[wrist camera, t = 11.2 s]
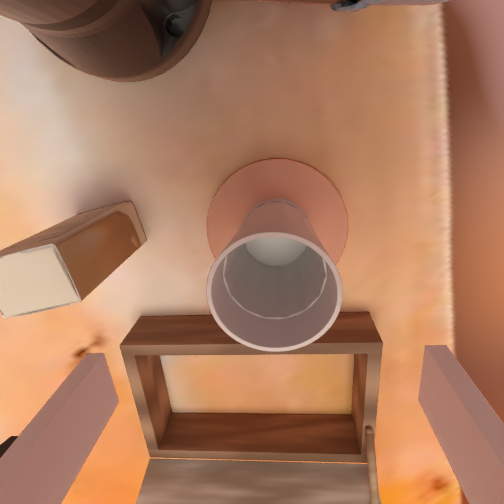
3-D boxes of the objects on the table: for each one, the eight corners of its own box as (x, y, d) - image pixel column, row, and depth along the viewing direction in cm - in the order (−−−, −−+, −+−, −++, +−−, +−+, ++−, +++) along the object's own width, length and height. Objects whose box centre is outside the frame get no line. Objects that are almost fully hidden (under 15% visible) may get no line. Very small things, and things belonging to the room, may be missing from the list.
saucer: (200, 163, 29) (198, 164, 29) (348, 153, 28) (350, 154, 27) (216, 291, 34) (215, 295, 33) (344, 288, 33) (345, 292, 32)
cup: (273, 169, 28) (269, 201, 17) (338, 229, 30) (372, 295, 19) (216, 233, 31) (179, 297, 20) (278, 285, 32) (276, 372, 21)
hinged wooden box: (140, 316, 36) (-7, 520, 18) (368, 311, 33) (475, 544, 15) (169, 439, 43) (85, 678, 25) (360, 443, 40) (426, 712, 22)
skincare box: (94, 253, 34) (-1, 321, 22) (75, 213, 32) (-36, 264, 21) (151, 240, 32) (82, 304, 21) (134, 198, 31) (51, 243, 20)
